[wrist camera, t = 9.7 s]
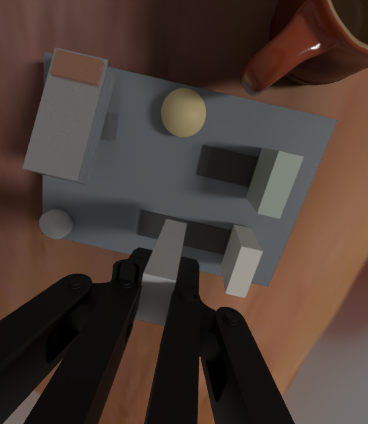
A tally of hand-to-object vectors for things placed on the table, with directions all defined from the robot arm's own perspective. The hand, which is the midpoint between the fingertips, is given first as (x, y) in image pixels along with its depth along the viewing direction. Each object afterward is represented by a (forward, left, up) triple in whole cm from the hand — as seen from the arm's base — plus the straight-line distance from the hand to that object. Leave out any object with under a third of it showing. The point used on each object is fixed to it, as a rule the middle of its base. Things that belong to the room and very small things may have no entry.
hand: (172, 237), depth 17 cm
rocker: (-6, -8, -1) cm, 11 cm away
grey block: (-5, +6, -3) cm, 9 cm away
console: (-3, -1, -7) cm, 7 cm away
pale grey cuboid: (+1, +5, -3) cm, 6 cm away
